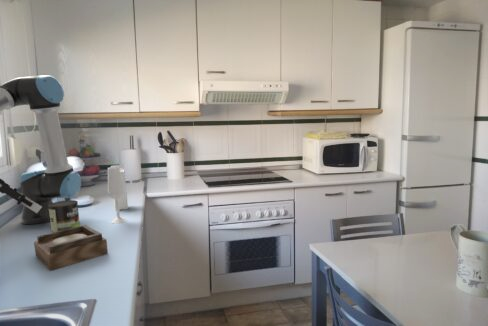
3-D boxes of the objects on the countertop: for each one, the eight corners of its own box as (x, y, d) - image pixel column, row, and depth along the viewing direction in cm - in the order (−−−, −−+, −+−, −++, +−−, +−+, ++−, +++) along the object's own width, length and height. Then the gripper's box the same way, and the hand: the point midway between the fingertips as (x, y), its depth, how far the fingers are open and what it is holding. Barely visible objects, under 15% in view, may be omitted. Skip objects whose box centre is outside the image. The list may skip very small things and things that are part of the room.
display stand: (50, 270, 114) (47, 249, 113) (35, 255, 128) (33, 236, 127) (107, 253, 126) (105, 233, 125) (88, 241, 139) (86, 223, 138)
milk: (114, 208, 188) (109, 165, 185) (126, 206, 191) (122, 163, 188) (115, 210, 183) (110, 166, 179) (128, 208, 185) (123, 165, 182)
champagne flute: (114, 219, 168) (108, 166, 164) (129, 218, 167) (123, 166, 164) (108, 223, 161) (102, 169, 158) (123, 223, 161) (118, 168, 157)
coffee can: (87, 234, 148) (83, 199, 146) (70, 243, 138) (65, 206, 136) (64, 233, 150) (60, 199, 148) (46, 242, 140) (41, 206, 138)
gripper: (-35, 177, 131) (19, 209, 143) (-26, 186, 113) (36, 222, 125) (-19, 160, 134) (33, 193, 146) (-7, 166, 116) (51, 203, 128)
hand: (34, 206), depth 135 cm, fingers open, 13 cm apart
